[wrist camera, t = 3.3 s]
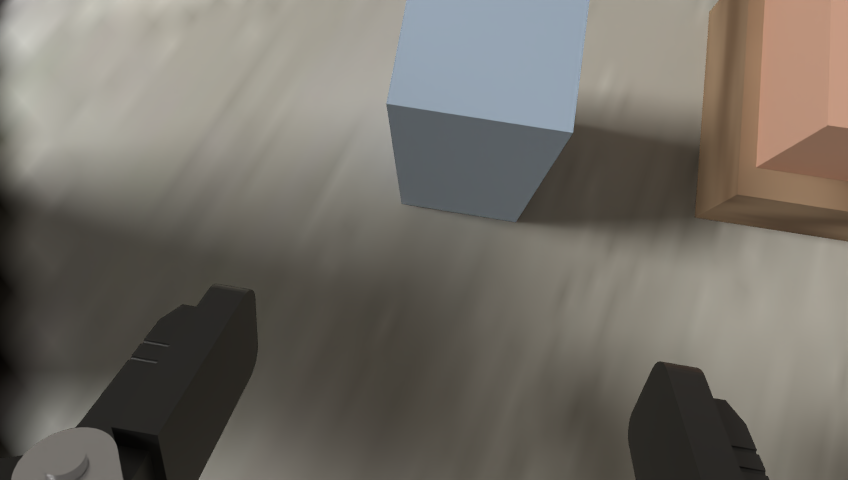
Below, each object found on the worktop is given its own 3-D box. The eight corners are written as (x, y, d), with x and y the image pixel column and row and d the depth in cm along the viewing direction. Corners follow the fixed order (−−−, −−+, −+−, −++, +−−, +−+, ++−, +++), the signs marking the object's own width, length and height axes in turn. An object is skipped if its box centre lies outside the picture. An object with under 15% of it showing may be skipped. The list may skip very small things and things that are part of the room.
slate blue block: (401, 203, 25) (386, 103, 16) (420, 98, 26) (418, -59, 17) (515, 222, 25) (572, 133, 15) (530, 115, 26) (593, -33, 16)
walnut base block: (689, 219, 26) (737, 194, 22) (705, 17, 28) (750, -39, 24) (921, 256, 25) (1012, 236, 21) (919, 48, 27) (1002, -5, 23)
